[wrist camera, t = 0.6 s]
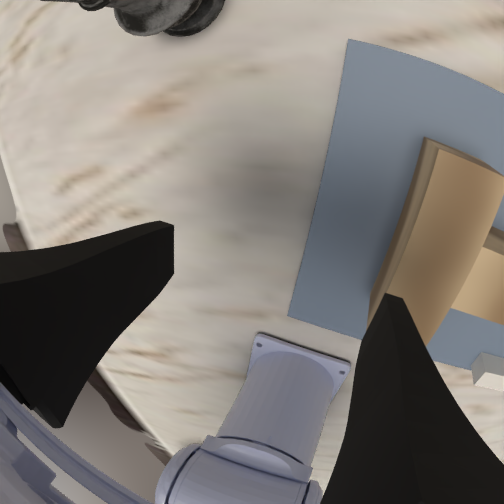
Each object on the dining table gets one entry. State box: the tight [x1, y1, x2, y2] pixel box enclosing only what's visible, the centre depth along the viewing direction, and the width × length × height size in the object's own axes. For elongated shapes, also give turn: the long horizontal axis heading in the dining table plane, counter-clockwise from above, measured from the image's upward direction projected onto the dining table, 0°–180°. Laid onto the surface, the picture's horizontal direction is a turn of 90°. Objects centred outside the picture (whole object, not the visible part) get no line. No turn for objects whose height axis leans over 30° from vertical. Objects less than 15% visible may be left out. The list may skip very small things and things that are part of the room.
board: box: [287, 39, 504, 370], centre depth 14 cm, size 18×24×1 cm
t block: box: [366, 137, 504, 346], centre depth 13 cm, size 10×10×4 cm
